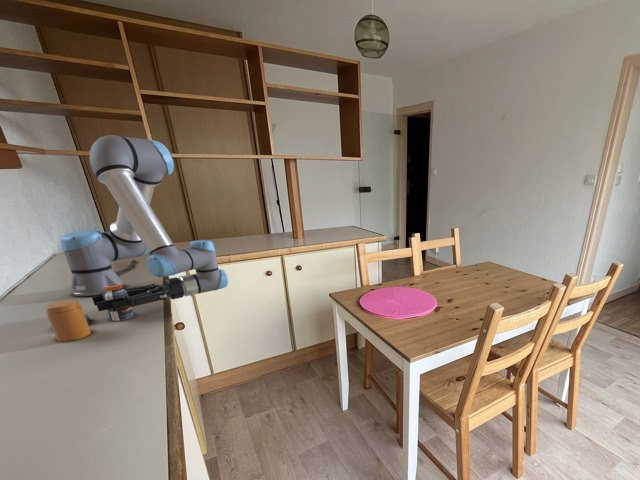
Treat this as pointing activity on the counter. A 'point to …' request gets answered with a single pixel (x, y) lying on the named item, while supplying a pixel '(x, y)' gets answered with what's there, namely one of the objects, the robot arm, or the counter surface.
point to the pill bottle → (113, 293)
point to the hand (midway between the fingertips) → (95, 304)
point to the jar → (67, 320)
